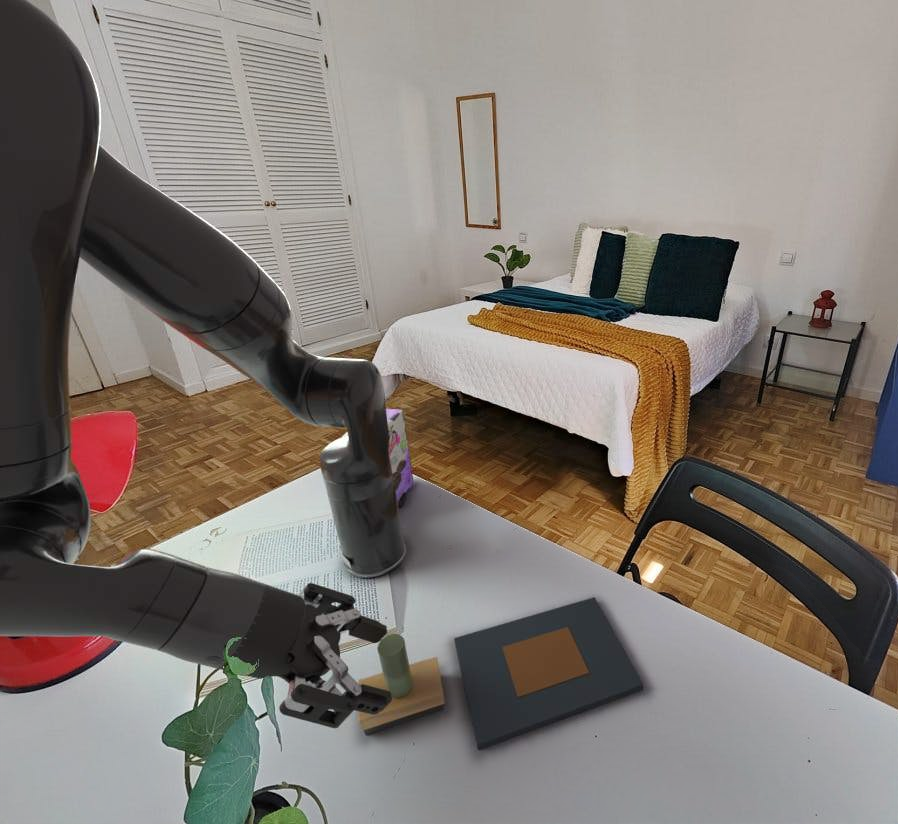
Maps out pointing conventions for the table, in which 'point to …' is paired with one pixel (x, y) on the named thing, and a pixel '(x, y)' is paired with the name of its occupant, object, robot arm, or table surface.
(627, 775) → the table surface
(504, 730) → the desk mat
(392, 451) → the candy box
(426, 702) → the brush
